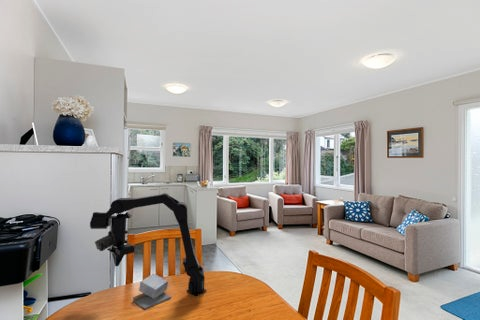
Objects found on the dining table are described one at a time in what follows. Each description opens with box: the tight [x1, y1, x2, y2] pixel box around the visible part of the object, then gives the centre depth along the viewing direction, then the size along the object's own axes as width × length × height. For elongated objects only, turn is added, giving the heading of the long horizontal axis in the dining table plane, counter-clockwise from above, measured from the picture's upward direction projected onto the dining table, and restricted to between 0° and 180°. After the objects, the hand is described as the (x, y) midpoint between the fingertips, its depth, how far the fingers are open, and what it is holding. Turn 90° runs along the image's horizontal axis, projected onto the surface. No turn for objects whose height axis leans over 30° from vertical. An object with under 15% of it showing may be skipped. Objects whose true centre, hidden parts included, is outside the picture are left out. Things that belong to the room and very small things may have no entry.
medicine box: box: [138, 273, 169, 299], centre depth 111 cm, size 8×4×9 cm
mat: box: [132, 292, 172, 311], centre depth 107 cm, size 12×9×2 cm
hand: (116, 266), depth 109 cm, fingers closed
